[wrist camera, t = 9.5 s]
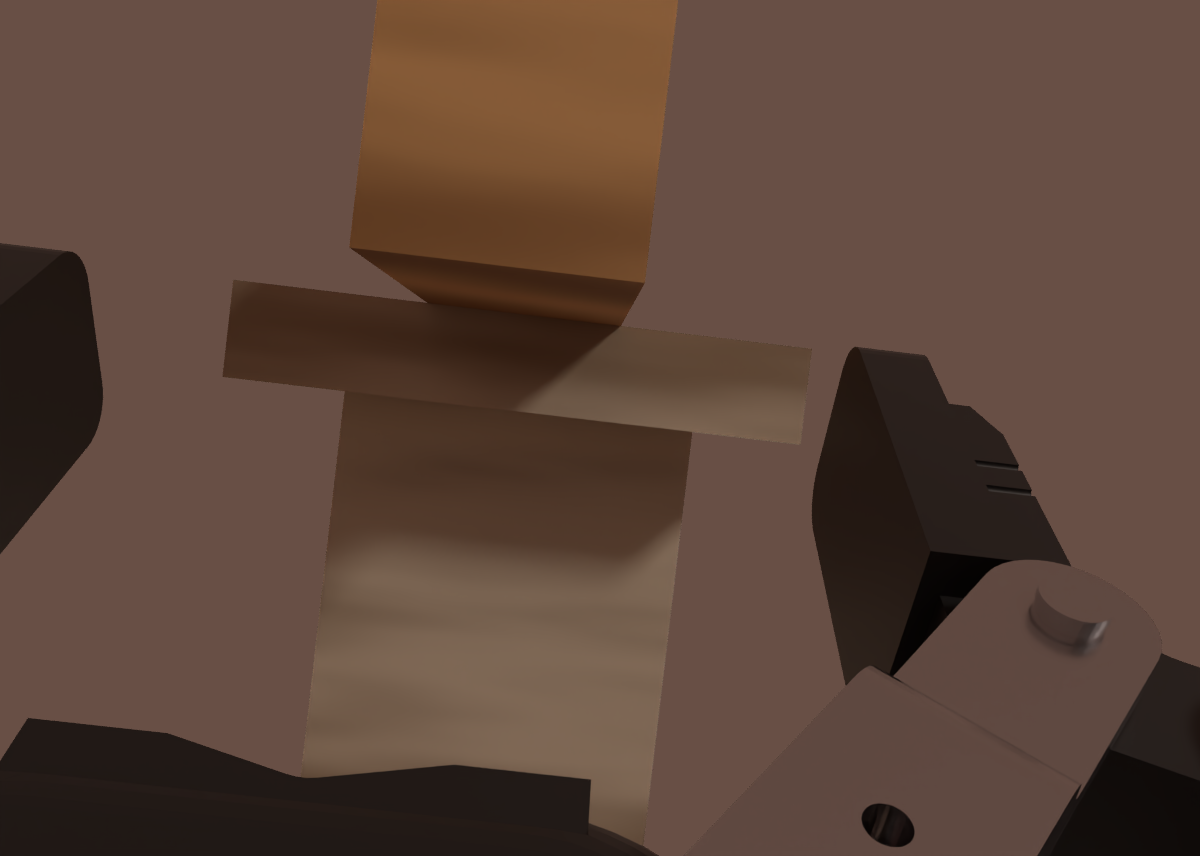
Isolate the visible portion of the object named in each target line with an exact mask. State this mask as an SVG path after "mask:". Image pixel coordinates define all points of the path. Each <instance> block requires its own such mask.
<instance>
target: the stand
mask: <svg viewBox="0 0 1200 856" xmlns="http://www.w3.org/2000/svg"><path fill="white" fill-rule="evenodd" d="M811 351H812V349H808V348H800V347H791V346H783V345H774V344H767V343H758V342H749V341H741V340H733V339H725V338H716V337H708V336H699V335H691V334H682V333H674V332H666V331H657V330H649V329H641V328H632V327H624V326H616V325H607V324H599V323H590V322H582V321H574V320H565V319H557V318H548V317H540V316H532V315H523V314H515V313H507V312H498V311H490V310H481V309H473V308H465V307H456V306H448V305H440V304H431V303H423V302H414V301H406V300H398V299H388V298H381V297H373V296H364V295H356V294H347V293H339V292H331V291H321V290H314V289H306V288H297V287H288V286H280V285H272V284H263V283H255V282H247V281H238V280H234V281H233V288H232V297H231V306H230V315H229V324H228V333H227V342H226V351H225V360H224V368H223V377H228V378H238V379H245V380H255V381H263V382H272V383H280V384H289V385H297V386H305V387H314V388H322V389H331V390H339V391H345V394H344V402H343V411H342V420H341V429H340V438H339V447H338V456H337V464H336V473H335V482H334V490H333V500H332V508H331V517H330V525H329V535H328V544H327V552H326V561H325V569H324V578H323V587H322V596H321V606H320V614H319V622H318V631H317V640H316V649H315V657H314V666H313V675H312V684H311V692H310V702H309V710H308V719H307V728H306V737H305V746H304V754H303V763H302V772H301V777H303V778H318V777H329V776H339V775H350V774H360V773H371V772H381V771H392V770H402V769H413V768H423V767H434V766H444V765H463V766H472V767H481V768H490V769H499V770H508V771H518V772H527V773H536V774H545V775H554V776H563V777H573V778H582V779H591V791H590V808H589V823H590V824H593V825H596V826H599V827H601V828H604V829H607V830H609V831H612V832H614V833H617V834H619V835H621V836H623V837H625V838H627V839H629V840H631V841H634V842H636V843H638V844H640V845H642V846H643V842H644V834H645V826H646V816H647V809H648V801H649V792H650V784H651V775H652V767H653V758H654V750H655V741H656V733H657V725H658V716H659V708H660V698H661V691H662V682H663V674H664V665H665V657H666V649H667V640H668V632H669V623H670V614H671V607H672V598H673V590H674V581H675V573H676V565H677V556H678V548H679V539H680V530H681V523H682V514H683V506H684V497H685V489H686V480H687V471H688V464H689V455H690V447H691V438H692V432H698V433H706V434H715V435H723V436H732V437H740V438H749V439H757V440H766V441H775V442H783V443H792V444H800V443H801V435H802V426H803V418H804V409H805V401H806V392H807V385H808V376H809V368H810V360H811Z"/></svg>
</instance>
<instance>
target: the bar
mask: <svg viewBox="0 0 1200 856" xmlns="http://www.w3.org/2000/svg"><path fill="white" fill-rule="evenodd" d="M677 5H678V0H377V9H376V18H375V27H374V35H373V45H372V54H371V62H370V71H369V79H368V88H367V97H366V106H365V114H364V123H363V132H362V141H361V150H360V158H359V168H358V176H357V185H356V195H355V202H354V212H353V220H352V230H351V238H350V248H351V249H352V250H354V251H355V252H357V253H358V254H359V255H361V256H362V257H364V258H365V259H366V260H368V261H369V262H371V263H372V264H374V265H375V266H376V267H378V268H379V269H381V270H382V271H383V272H385V273H386V274H388V275H389V276H390V277H392V278H393V279H395V280H396V281H398V282H399V283H400V284H402V285H403V286H405V287H406V288H407V289H409V290H410V291H412V292H413V293H414V294H416V295H417V296H419V297H420V298H421V299H423V300H424V301H426V302H427V303H431V304H440V305H448V306H456V307H465V308H473V309H481V310H490V311H498V312H507V313H515V314H523V315H532V316H540V317H548V318H557V319H565V320H574V321H582V322H590V323H599V324H607V325H616V326H621V325H622V323H623V321H624V319H625V317H626V316H627V314H628V312H629V310H630V309H631V307H632V305H633V303H634V301H635V300H636V298H637V296H638V294H639V292H640V291H641V289H642V287H643V285H644V283H645V277H646V268H647V260H648V252H649V243H650V235H651V226H652V217H653V209H654V200H655V192H656V184H657V175H658V167H659V158H660V150H661V141H662V133H663V124H664V116H665V107H666V99H667V90H668V81H669V73H670V65H671V56H672V48H673V39H674V31H675V22H676V14H677Z"/></svg>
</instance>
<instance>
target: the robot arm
mask: <svg viewBox="0 0 1200 856" xmlns="http://www.w3.org/2000/svg"><path fill="white" fill-rule="evenodd" d="M102 402H103V387H102V378H101V371H100V364H99V357H98V350H97V342H96V335H95V328H94V320H93V313H92V305H91V297H90V291H89V283H88V277H87V273H86V269H85V267H84V264H83V262H82V260H81V259H80V257H79V256H78V255H77V254H75V253H73V252H68V251H61V250H52V249H43V248H35V247H26V246H19V245H10V244H2V243H0V554H1V552H2V551H3V550H4V549H5V548H6V546H7V545H8V544H9V542H10V541H11V540H12V539H13V538H14V537H15V535H16V534H17V533H18V532H19V530H20V529H21V528H22V527H23V525H24V524H25V523H26V522H27V521H28V519H29V518H30V517H31V516H32V514H33V513H34V512H35V511H36V509H37V508H38V507H39V506H40V505H41V503H42V502H43V501H44V500H45V498H46V497H47V496H48V495H49V494H50V492H51V491H52V490H53V489H54V487H55V486H56V485H57V484H58V483H59V481H60V480H61V479H62V478H63V476H64V475H65V474H66V473H67V471H68V470H69V469H70V468H71V467H72V465H73V464H74V463H75V461H76V460H77V459H78V458H79V457H80V455H81V454H82V453H83V452H84V451H85V449H86V448H87V447H88V446H89V444H90V443H91V441H92V439H93V437H94V435H95V433H96V430H97V428H98V424H99V421H100V416H101V411H102ZM1018 466H1019V465H1018V463H1017V461H1016V459H1015V457H1014V455H1013V453H1012V451H1011V449H1010V447H1009V445H1008V443H1007V441H1006V439H1005V438H1004V436H1003V434H1002V433H1000V432H999V431H998V430H997V429H996V428H994V427H993V426H992V425H990V423H988V422H987V421H986V420H985V419H984V418H983V417H982V416H980V415H979V414H978V413H977V412H976V411H975V410H973V409H972V408H971V407H970V406H962V405H953V404H949V403H948V401H947V399H946V397H945V395H944V393H943V390H942V388H941V386H940V384H939V382H938V379H937V377H936V375H935V373H934V371H933V368H932V366H931V364H930V362H929V360H928V358H927V357H926V356H925V355H919V354H910V353H902V352H893V351H885V350H876V349H868V348H860V347H854V348H853V349H852V350H851V351H850V352H849V354H848V356H847V358H846V361H845V364H844V367H843V370H842V374H841V378H840V382H839V386H838V390H837V394H836V397H835V402H834V405H833V409H832V413H831V418H830V421H829V425H828V429H827V433H826V437H825V440H824V445H823V448H822V452H821V456H820V460H819V464H818V468H817V472H816V477H815V482H814V490H813V499H812V525H813V532H814V537H815V541H816V546H817V551H818V556H819V560H820V565H821V570H822V575H823V580H824V584H825V589H826V594H827V599H828V603H829V608H830V613H831V618H832V623H833V627H834V632H835V637H836V642H837V646H838V651H839V656H840V660H841V665H842V670H843V675H844V680H845V685H846V686H845V687H844V688H843V689H842V690H841V692H840V693H839V694H838V695H837V696H836V697H835V698H834V699H833V700H832V701H831V702H830V703H829V704H828V705H827V706H826V707H825V708H824V709H823V710H822V711H821V712H820V713H819V715H818V716H817V717H816V718H815V719H814V720H813V721H812V722H811V723H810V724H809V725H808V726H807V727H806V728H805V729H804V730H803V731H802V732H801V734H799V735H798V737H797V738H796V739H795V740H794V741H793V742H792V743H791V744H790V745H789V746H788V747H787V748H786V749H785V750H784V751H783V752H782V753H781V754H780V755H779V756H778V757H777V758H776V760H775V761H774V762H773V763H772V764H771V765H770V766H769V767H768V768H767V769H766V770H765V771H764V772H763V773H762V774H761V775H760V776H759V777H758V778H757V780H756V781H755V782H754V783H753V784H752V785H751V786H750V787H749V788H748V789H747V790H746V791H745V792H744V793H743V794H742V795H741V796H740V797H739V798H738V799H737V800H736V802H734V803H733V804H732V806H731V807H730V808H729V809H728V810H727V811H726V812H725V813H724V814H723V815H722V816H721V817H720V818H719V819H718V820H717V821H716V822H715V823H714V825H712V827H711V828H710V829H709V830H708V831H707V832H706V833H705V834H704V835H703V836H702V837H701V838H700V839H699V840H698V841H697V842H696V843H695V844H694V845H693V846H692V847H691V849H689V851H688V852H687V853H686V854H685V855H684V856H1200V668H1199V667H1196V666H1193V665H1190V664H1187V663H1184V662H1182V661H1179V660H1176V659H1174V658H1171V657H1169V656H1167V655H1164V654H1162V653H1161V652H1162V640H1161V637H1160V633H1159V631H1158V629H1157V627H1156V625H1155V623H1154V622H1153V620H1152V619H1151V618H1150V616H1149V615H1148V614H1147V612H1146V611H1145V610H1144V609H1143V608H1142V607H1141V606H1140V605H1139V604H1138V603H1137V602H1136V601H1134V600H1133V599H1132V598H1131V597H1129V596H1128V595H1127V594H1126V593H1124V592H1123V591H1121V590H1120V589H1118V588H1117V587H1115V586H1113V585H1112V584H1110V583H1108V582H1106V581H1105V580H1103V579H1101V578H1099V577H1097V576H1094V575H1092V574H1090V573H1088V572H1085V571H1083V570H1080V569H1077V568H1074V567H1071V565H1070V563H1069V561H1068V559H1067V557H1066V555H1065V553H1064V551H1063V549H1062V547H1061V545H1060V544H1059V542H1058V540H1057V538H1056V536H1055V534H1054V532H1053V530H1052V528H1051V526H1050V524H1049V523H1048V521H1047V518H1046V517H1045V515H1044V513H1043V511H1042V509H1041V507H1040V505H1039V503H1038V501H1037V499H1036V497H1035V496H1031V491H1032V490H1031V488H1030V486H1029V484H1028V482H1027V480H1026V478H1025V476H1024V474H1023V472H1022V471H1018ZM590 791H591V779H582V778H573V777H563V776H554V775H545V774H536V773H527V772H518V771H508V770H499V769H490V768H481V767H472V766H463V765H444V766H434V767H423V768H413V769H402V770H392V771H381V772H371V773H360V774H350V775H339V776H329V777H318V778H303V777H295V776H291V775H288V774H285V773H282V772H278V771H276V770H273V769H270V768H267V767H264V766H261V765H258V764H255V763H253V762H250V761H247V760H244V759H241V758H238V757H235V756H232V755H229V754H226V753H223V752H220V751H218V750H215V749H211V748H209V747H206V746H203V745H200V744H197V743H194V742H191V741H188V740H186V739H183V738H180V737H177V736H174V735H171V734H168V733H160V732H151V731H142V730H132V729H123V728H113V727H105V726H95V725H86V724H76V723H68V722H59V721H49V720H40V719H31V718H28V719H27V721H26V722H25V724H24V725H23V727H22V728H21V730H20V731H19V733H18V734H17V736H16V737H15V739H14V741H13V742H12V744H11V745H10V747H9V748H8V750H7V751H6V753H5V754H4V756H3V758H2V759H1V761H0V856H659V855H657V854H655V853H654V852H652V851H650V850H649V849H647V848H645V847H644V846H642V845H640V844H638V843H636V842H634V841H631V840H629V839H627V838H625V837H623V836H621V835H619V834H617V833H614V832H612V831H609V830H607V829H604V828H601V827H599V826H596V825H593V824H590V823H589V808H590Z"/></svg>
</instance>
